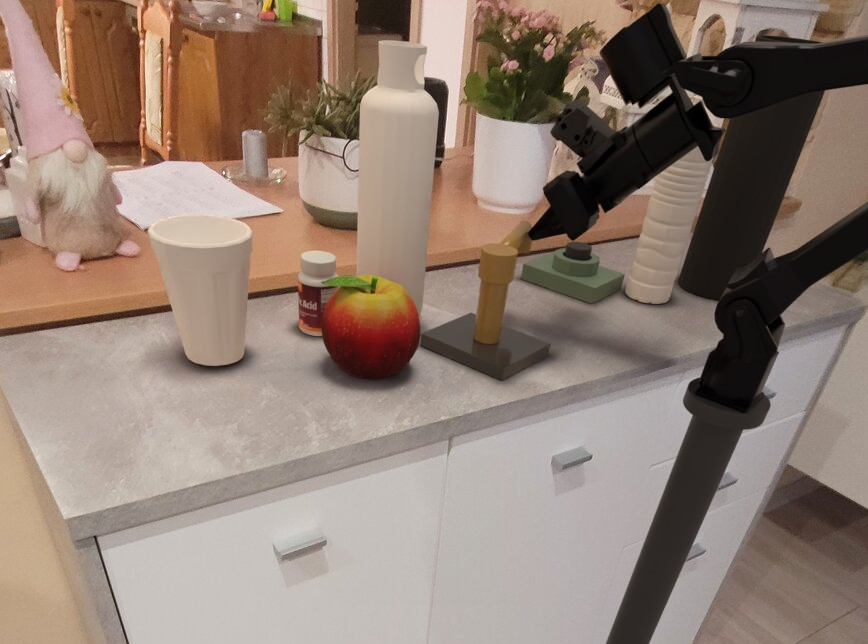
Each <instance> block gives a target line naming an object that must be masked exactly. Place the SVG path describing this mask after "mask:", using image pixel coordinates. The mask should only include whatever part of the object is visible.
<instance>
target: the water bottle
mask: <svg viewBox="0 0 868 644" xmlns="http://www.w3.org/2000/svg"><path fill="white" fill-rule="evenodd" d="M693 98H694V99H693V101H692V103H693V105H695V104H697V103H698V102H699V101H702V103H703V105H704V108H705V110H706V112H707V114H708V116H709V118H710V120H711V122H712V125H713V126H715V127H719V122H718V117H715V116H714V115H713V114H712V113H711V112H710V111H709V110H708V109H707V108H706V106H705V104H704V101H703V99H702V97H701V96H699V95H697V94H695V95H694V96H693ZM714 159H715V156H714V157H713V158H712V159H711V160H710V161H705V159H704V157H703V155H702V153H701V151H700V149H699V147H698V146H697V147H696V148H695V149H693V150H692V151H690V152H689V153H688V154H686V155H685V156H683V157H682V158H681V159H679V160H678V161H677V162H675V163H674V164H672V165H671V166H670V167H668V168H667V169H665V170H664V171H663V172H661V173H660V174H658V175H657V176H656V177H655V182H654V184H653V189H652V191H651V195H650V198H649V201H648V204H647V208H646V215H645V216H644V220H643V223H642V227H641V232H640V233H639V238H638V241H637V247H636V249H635V252H634V259H633V261H632V263H631V267H630V270H629V275H628V277H627V281H626V285H625V288H624V293H625V295H626V296H628V298H630V299H632V300H634V301H636V300H637V301H638V302H639V303H643V304H651V305H660V304H665V303H668V302H669V300H670V299H671V297H672V296H671V295H672V293H673V289H674V285H675V281H676V279H677V277H678V273H679V267H680V265H681V264H682V261H683V258H684V254H685V250H686V247H687V244H688V239H689V238H690V235H691V232H692V229H693V223H694V221H695V219H696V217H697V213H698V211H699V206H700V202H701V200H702V196H703V194H704V189H705V188H706V182H707V181H708V178H709V177H708V175H709V174H710V172H711V167H712V166H713V161H714Z"/></svg>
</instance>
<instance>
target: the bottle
mask: <svg viewBox="0 0 868 644" xmlns="http://www.w3.org/2000/svg"><path fill="white" fill-rule="evenodd" d="M377 47H378V49H377V50H378V61H379V62H378V63H379V64H378V71H377V78H376V79H377V81H376V84H377V85H375V86H374V87H372V88H370V89H369V90H367V92H365V93H364V94H363V96H362V98H361V101H360V103H359V132H358V133H359V136H358V137H359V138H358V179H357V181H358V185H357V186H358V189H357V227H356V230H357V231H356V233H357V235H356V275H355V277H357V276H360V275H374V276H379V277H381V278H384V279H387V280H389V281H392V282H395V283H397V284H400V285H401V286H403V287H404V289H405V290H406V291H407V292H408V293H409V295H410V296H411V298H412V300H413V301H414V303H415V305H416V308H417V311H418V314H419V320H420V328H422V311H423V306H424V305H423V304H424V293H425V280H426V269H427V257H428V247H429V234H430V233H429V232H430V224H431V223H430V221H431V210H432V200H433V198H432V197H433V187H434V175H435V174H434V173H435V164H436V163H435V162H436V151H437V139H438V126H439V117H440V116H439V115H440V111H439V107H438V103H437V102H436V101H435V99H434V98H433V96H431V94H430V93H429V92H428V91H427V90H426V89H425V62H426V58H427V55H428V54H427V53H428V46H427V45H426V44H423V43H418V42H413V41H405V40H390V39H389V40H388V39H385V40H378V45H377ZM420 331H421V329H420Z"/></svg>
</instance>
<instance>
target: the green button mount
mask: <svg viewBox="0 0 868 644" xmlns="http://www.w3.org/2000/svg"><path fill="white" fill-rule="evenodd" d="M565 251H566V247H563V248H558V249H556V250H554V251H553V252H550V253H547V254H545V255H542V256H539V257H537V258H534V259H532V260H530V261H526V262H524V263H523V264H522V270H521V274H520V275H521V276H520V280H523V281H526V282H529V283H532V284H534V285H537V286H540V287H543V288H545V289H548V290H550V291H551V290H552V291H554V292H556V293H559V294H563V295H565V296H568V297H571V298H574V299H577V300H579V301H582V302H585V303H588V304H594V303H596V302H598V301H601V300H603V299H604V298H607V297H609V296H610V295H612V294H614V293H616V292H618V291H620V290H622V287H623V283H624V279H625V276H626V274H625V273H623V272H620V271H618V270H614V269H611V268H608V267H605V266H601V265H600V261H601V260H600V259H601V258H600V256H599V255H597V254H596V253H594V252H592V251H591V254H590V259H589V260H588V261H579V260H573V259H569V258H567V257H565V256H564V255H565Z"/></svg>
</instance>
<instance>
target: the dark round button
mask: <svg viewBox="0 0 868 644" xmlns="http://www.w3.org/2000/svg"><path fill="white" fill-rule="evenodd" d="M565 248H566V251H565V255H564V256H565V257H567V258H569V259H573V260H579V261H588V260H589V259H590V254H591V252H592V250H593V249H592V248H593V247H592V245H590V244H588V243H586V242H580V241H570V242H567V243H566V246H565Z"/></svg>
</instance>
